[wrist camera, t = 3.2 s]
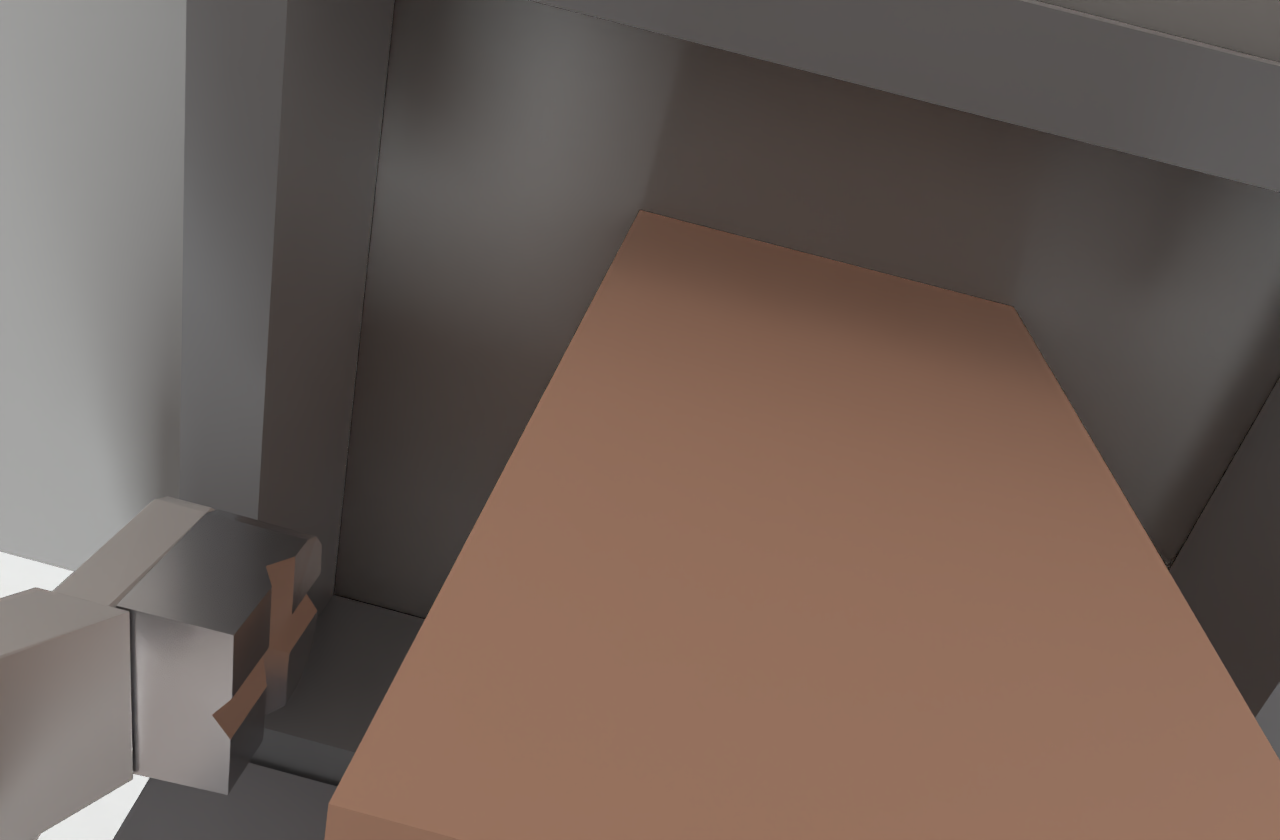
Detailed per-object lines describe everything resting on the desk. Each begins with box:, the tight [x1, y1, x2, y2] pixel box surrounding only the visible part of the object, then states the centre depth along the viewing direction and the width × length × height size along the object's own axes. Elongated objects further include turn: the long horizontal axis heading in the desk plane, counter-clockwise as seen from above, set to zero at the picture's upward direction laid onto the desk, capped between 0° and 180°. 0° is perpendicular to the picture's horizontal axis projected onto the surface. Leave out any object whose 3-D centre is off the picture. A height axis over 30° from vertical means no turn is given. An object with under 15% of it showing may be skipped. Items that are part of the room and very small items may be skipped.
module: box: [324, 210, 1280, 840], centre depth 10 cm, size 5×5×11 cm
